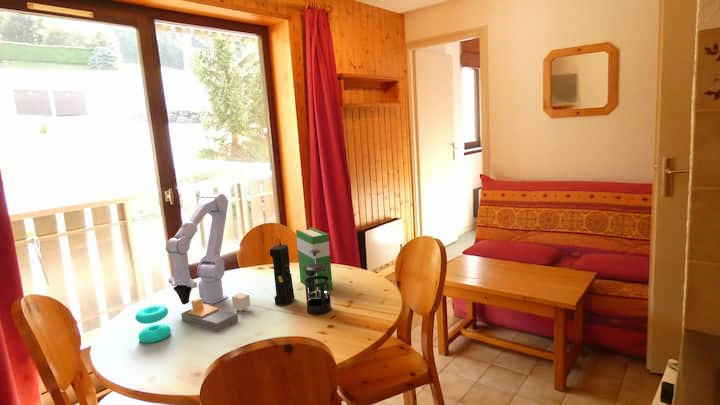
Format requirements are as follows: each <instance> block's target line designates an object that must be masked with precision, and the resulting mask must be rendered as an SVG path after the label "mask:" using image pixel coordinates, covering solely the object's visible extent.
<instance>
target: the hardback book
mask: <svg viewBox="0 0 720 405" xmlns="http://www.w3.org/2000/svg"><path fill="white" fill-rule="evenodd" d="M295 235H296V244H297V257H298V258H297V259H298V268H299V269H298V270H299V280H300V283H301V284H302V285H304V286H305V279H307V278H308V275H306V274H305V270H304V267H305V266H307V265H310V264H315V259H316V263H323V264H327V265H328V268H327V272H325V271H323V270H322V271H318V272H317V276H327V277H328V278H329V291H333V277H332V265H331V263H332V262H331V250H330V239H329V234H328V233H326V232H325V231H324V232H323V231H321V230H318V229H316V228H313V227H309V229H306V230H299V229H296V230H295ZM312 250H319V251H320V252H319V253H316V256H315V258H314V256H313V254H310V253H309V251H312ZM313 276H316V273H315V274H314V275H313ZM325 281H326V280H325V279H317V282H316V279H314V282H315V284H317V283H322V282H325ZM307 283H308V282H307ZM308 289H309V287H308ZM315 290H317V287H315ZM318 290H320V287H318ZM325 290H326V291H327V285H325Z"/></svg>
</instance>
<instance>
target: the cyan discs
mask: <svg viewBox="0 0 720 405" xmlns="http://www.w3.org/2000/svg"><path fill="white" fill-rule="evenodd" d="M168 314H169V310H168V308H167V307H166V306H164V305H161V304H160V305H159V304H157V305H150V306H146V307H144V308H142V309H140V310H138V311H137V313H136V314H135V320H136V321H137V322H138V323H139V324H144V325H145V324H148V326H146V327H145V328H143V329H141V331H140V332H139V333H138V340H139V341H140V342H141V343H144V344H153V343H157V342H160V341H162V340H165V339H166V338H168V336H170V334H171V332H172V329H171V327H170V325H167V324H166V323H157V322H160V321H162V320H163V319H165V317H166V316H168Z"/></svg>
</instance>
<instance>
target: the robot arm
mask: <svg viewBox="0 0 720 405" xmlns="http://www.w3.org/2000/svg"><path fill="white" fill-rule="evenodd" d="M197 203H198V205H197V207H196V208H195V209H194V212H193V214H192V215H191V217H190V218H189V220H188V221H185V222H183V223H182V224H181V226H180V227H179V229H178V231H177V232H176V234H175V235H174V236H173V237H172V238H170V239H168V240H167V242H166V246H165V251H166V252H167V253H168V255H169V258H170V262H171V267H172V268H171V270H172V274H173V276H172V277H170V278H168V283H169V284H171V285H172V286H174V287H173V290H174V292H176V294H177V296H178V298H179V301H180V302H181V304H182V305H186V304H189V303H190V296H191V292H192V289H193V290H194V289H195V288H198V293H199V298H202V301H203V303H206V304H211V305H214V304H216V303H219V302H221V301H223V300H225V299H228V298H229V296H228V295H224V291H223V282H222V279H223V277H224V275H225V270H226V269H225V261H224V260H223V258H222V257H221V251H222V245H223V241H224V240H223V238H224V232H225V227H226V222H227V221H226V220H227V211H228V206H229V200H228V198H227V196H226V195H225V194H224V193H216V194H215V193H211V194H210V193H204V194H202V195H201V196H200V198H199V199H198V201H197ZM207 214H208V215H210V216H211V225H210V230H209V235H208V236H209V237H208V241H207V242H208V243H207V248H206V253H205V254H206V255H204V256H203V257H201V258H200V262H199V264H198V266H197V268H196V274H197V276H198V277H199V278H200V280H199V282H197V281H195V280H193V279H192V278H191V273H190V267H189V258H188V251H189V250H190V247H191V242H192V240H193V238H194V237H195V235H196V233H197V232H198V225H199V224H200V223H201V221H202V220H203V219H204V218H205V216H206V215H207Z"/></svg>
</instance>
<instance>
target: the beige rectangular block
mask: <svg viewBox="0 0 720 405" xmlns="http://www.w3.org/2000/svg"><path fill="white" fill-rule="evenodd" d="M231 297H232V299H231V300H232V306H233V307H232V308H234V309H236V311H237V312H236V313H239V312H240V311H243V312H246V311H247V310H246V309H247V308H250V307H251V299H250V298H251V296H250V294H248V293H247V294H246V293H241V292H239V293H237V294H234V295H233V296H231Z"/></svg>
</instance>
